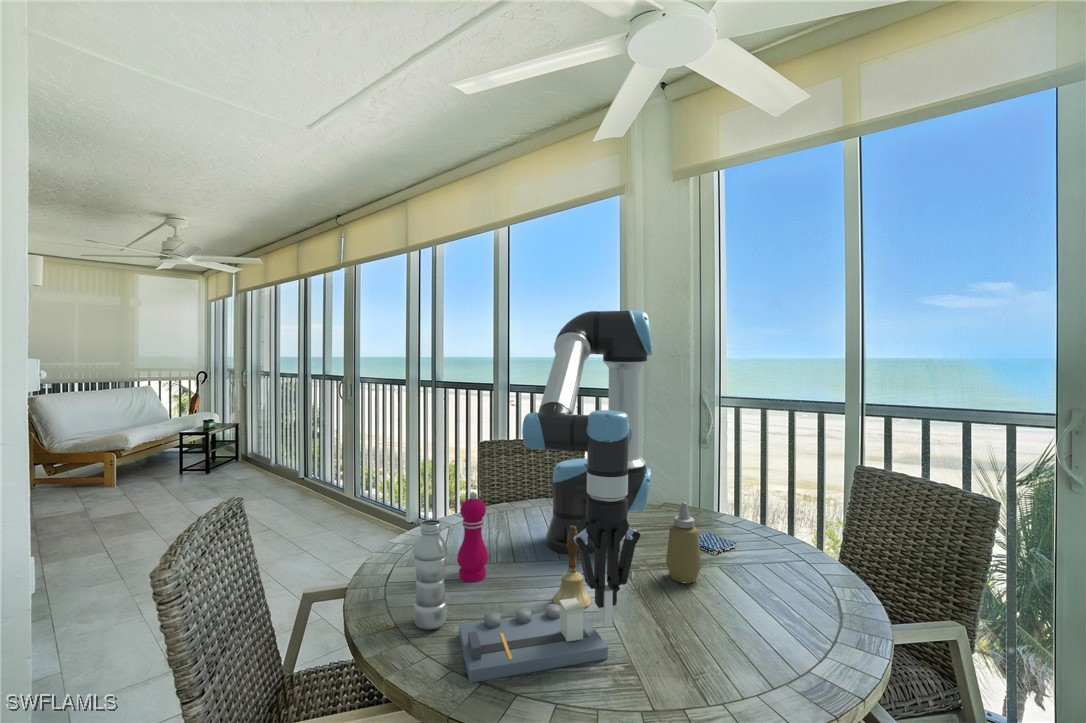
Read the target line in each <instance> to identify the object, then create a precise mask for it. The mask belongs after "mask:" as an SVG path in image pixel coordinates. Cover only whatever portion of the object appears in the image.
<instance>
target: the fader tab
mask: <svg viewBox="0 0 1086 723" xmlns="http://www.w3.org/2000/svg"><path fill="white" fill-rule="evenodd" d="M559 604H560V631H561V633H562V634H563V636H564V638H565V639H566V641H567V642H568V641H574V640H580V639H583V613H584V612H585V608H583V607H582V606H581V604H580V603H579V602H578V600H577V599H576V598H571V599H564V600H559ZM584 614H585V613H584Z"/></svg>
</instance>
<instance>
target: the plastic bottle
mask: <svg viewBox="0 0 1086 723" xmlns="http://www.w3.org/2000/svg"><path fill="white" fill-rule="evenodd" d="M441 532H442V528H441V521H440V520H438V519H426V520H423V521H421V524H420V534H421V536H420V537H419V538H418V539H417V541H416V542H415V544H414V548H413V553H412V554H413V561H414V566H415V568H414V569H415V582H416V584H415V586H416V587H415V598H414V603H413V607H412V608H413V610H412V617H413V622H414V623H415V625H416V626H417V628H418V629H420V630H424V631H425V630H426V631H427V630H428V631H429V630H430V631H431V630H435V629H438V628H440V627H442V626H443V625H444V623H445V622H446V621H447V618H448V604H447V598H446V588H445V575H446V574H445V572H446V563H447V556H448V555H447V554H448V547H447V543H446V542H445V540H444V538H443V537H442V536H441V535H440V533H441Z"/></svg>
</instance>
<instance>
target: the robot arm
mask: <svg viewBox="0 0 1086 723" xmlns="http://www.w3.org/2000/svg"><path fill="white" fill-rule="evenodd" d="M554 341H555V342H554V343H553V344H554V346H553V348H554V349H553V350H554V353H555V355H554V358H553V361H552V365H551V368H550V371H549V375H548V378H547V382H546V385H545V388H544V392H543V395H542V398H541V402H540V405H539V409H538V411H535V412H529V413H526V415H525V416H524V417H523V418H524V419H523V422H522V429H521V431H522V432H521V433H522V435H521V436H522V442H523V444H524V446H526V447H527V449H528V448H529V449H534V450H541V451H565V452H566V451H569V452H579V453H580V452H583V453H586V454H587V458H586V457H585V458H573V459H567V460H564V461H563V460H562V461H561V462H558V463H556V464H555V466H554V467H553V474H552V475H553V476H552V480H551V482H552V516H551V520H550V523H549V526H548V529H547V532H546V535H545V536H546V537H545V540H546V541H545V545H546V546H547V547H548V548H549V549H551V550H552V551H554V552H558V553H560V554H561V553H563V554H568V555H569V552H568V548H567V536H568V532H569V530H570V526H576V529H577V533H578V534H573V536H572V539H573V540H574V542H575V543H576V545H577V547H578V551H577V554H576V555H578V557H579V559H580V564H581V565H580V566H581V569H582V573H583V574H582V575H583V580H584V582H585V584H586V585H587V586H588V587H589V588H590V589H591V590H594V604H595V605H596V606H597V608H598V621H599V622H600V624H602V626H603V627H604V628H611V627H613V606H616V605H617V602H618V600H617V599H618V592H619V591H620V590H621V588H620V586H622V585H623V586H625V585H627V584H628V579H629V575H630V571H631V566H632V562H633V558H634V552H635V548H636V545H637V543H638V542H639V540H640V539H641V536H642V535H641V533H640V532H639V531H638V530H636V529H635V528H633V527H630V523H629V521H628V513H630V512H632V513H633V512H635V513H642V512H643V511H645V509H646V508H647V504H648V499H649V498H648V497H649V492H650V491H649V490H650V485H651V484H650V483H651V477H652V470H651V468H649V467H646V466H647V465H646V464H647V462H646V460H645V459H644V458H643V457H642V456H641V422H642V421H641V418H642V417H641V414H642V413H641V410H642V409H641V406H642V404H641V403H642V401H641V400H642V399H641V397H642V367H644V365H645V364H647V362H648V356H652V355H653V354H654V352H653V345H652V344H653V343H652V334H651V326H650V319H649V315H648V314H647V313H646V312H645V311H641V310H631V309H629V310H601V311H600V310H598V311H597V310H590V311H585V312H583V313H580V314H578V315H576V316H575V317H572V319H570V320H569V321H568V322H567V323H565V324H564V326H563V327H562V328H560V331H559V332H558V333H557V336H556V338H555V340H554ZM590 355H602V362H603V363H604V364H605V365H606V366H607V368H608V407H607V408H608V409H606V410H605V409H603V410H593V411H591V412H589V414H574V413H575V408H576V404H577V403H576V402H577V398H578V393H579V389H580V385H581V379H582V374H583V370H584V367H585V366H584V365H585V362H586V360H588V358H589V357H590ZM622 540H623V543H622ZM621 543H622V547H620V546H621ZM620 548H621V549H620ZM620 550H621V551H620ZM593 552H594V555H593V556H594V558H593V564H592V560H591V556H590V553H593ZM619 553H620V554H619Z"/></svg>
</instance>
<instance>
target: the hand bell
mask: <svg viewBox="0 0 1086 723" xmlns="http://www.w3.org/2000/svg"><path fill="white" fill-rule="evenodd" d="M573 534H578V533H577V529H576V526H570V530H569V532H568V536H567V548H568V552H569V554H568V569H567V571H566V572H565V573H563V574H562V576H561V583H560V586H559V590H558V591H556V593H555V594H554V595H553V599H552V601H553V604H557V605H559V606H560V604H559V600H564V599H571V598H576V599H577V600H578V602H579V603H580V604H581V606H582V607H583V608H584V609H586V608H588V607H589V606H591V604H592V602H593V601H592V597H591V596H590V594H589V593H588V592H587V590H586V588H585V584H584V575H583V574H581V573H580V572H578V571H577V555H578V554H577V551H578V547H577V545H576V543H575V542H574V540H573V539H572V536H573Z"/></svg>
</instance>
